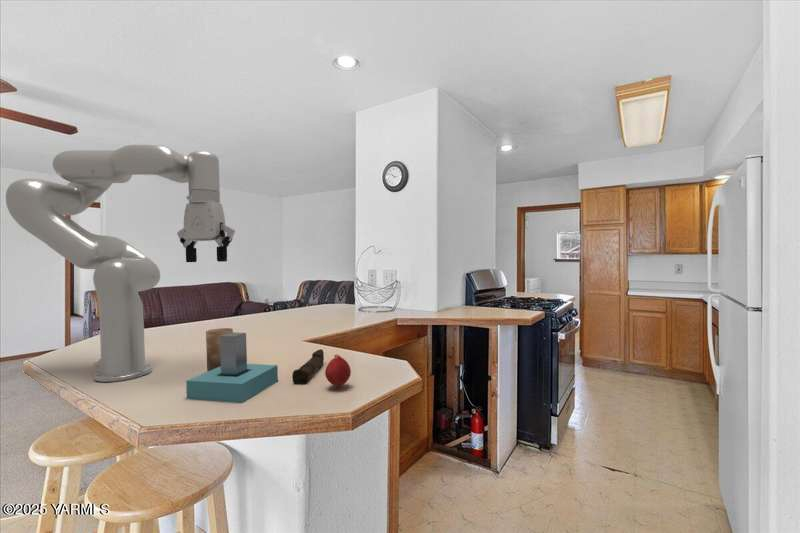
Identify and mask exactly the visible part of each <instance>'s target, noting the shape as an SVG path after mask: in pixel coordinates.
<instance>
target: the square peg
mask: <svg viewBox="0 0 800 533" xmlns="http://www.w3.org/2000/svg"><path fill="white" fill-rule="evenodd" d="M247 349H248V348H247V332H234V331H233V332H231V333H228V334H225V335H221V336H220V353H221V376H232V377H238V376H240V375H242V374H244V373H246V372H247V364H248V359H247V358H248V352H247Z"/></svg>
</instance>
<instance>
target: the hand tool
mask: <svg viewBox="0 0 800 533" xmlns="http://www.w3.org/2000/svg"><path fill="white" fill-rule="evenodd" d="M324 355H325V354H324V350H323V349H322V348H321V349H317V350H316V351H314V352H313V353H312V354H311V357H310V359H308V360H307V361H306V362H305V363H304V364H302V366H300V367H299V368H298V369H294V370H293V371H292V376H291V378H292V380H291V381H292V382H293V384H294V385H306V384H307V383H308V382H309V379H310V378H311V377H312V376H313V374H315V373H316V372H317V370H320V369H322V368H323V366H324V360H325V359H324V358H325V356H324Z"/></svg>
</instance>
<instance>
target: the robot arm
mask: <svg viewBox="0 0 800 533" xmlns="http://www.w3.org/2000/svg"><path fill="white" fill-rule="evenodd" d="M52 168H53V170H54V172H55V173H56V174H57V175H58V176H59V177H60V178H61V179H64V180H65V181H67V182H68V183H67V184H62V183H58V182H53V181H49V180H44V179H39V178H23V179H18V180H15V181H13V182H12V183H10V184H9V186H7V189H6V191H5V205H6V208H7V210H8V212H9V214H10V216H11V217H12V218H13V220H14V221H15V222H16V223H17V224H18V225H19V226H20V227H21V228H22V229H24V230H25V231H26V232H27V233H29V234H31V235H33V237H35V238H37V239H38V240H40V242H42V243H44V244H46V245H47V246H48V247H49V248H50V249H52V250H53V251H54V252H55V253H57V254H58V255H60V256H61V257H62V258H64V259H65V260H67V261H69V263H71V264H73V265H74V266H76V267H78V268H80V269H83V270H94V271H93V276H92V277H93V278H92V281H93V286H94V290H95V293H96V297H97V301H98V313H99V314H98V315H99V335H100V339H99V341H100V358H99V359H98V361H95V362H93V364H92V365H93V367H94V368H98V372H96V373H95V374H94V375H93V378H94V379H93V380H94V381H96V382H101V383H108V382H110V383H111V382H119V381H125V380H131V379H135V378H136V379H137V378H140V377H142V376H146V375H147V374H148V375H149V373H151V372H152V371H153V365H151V364H146V351H145V350H146V348H145V347H146V346H145V323H144V321H145V319H144V307H143V306H144V305H143V301H142V299H141V297H140V295H139V292H143V291H145V292H146V291H149V290H151V289H153V288H154V287H156V286H157V285H158V283H159V282H160V280H161V272H160V269H159V266H158V265H157V264H156V263H155V262H154V261H153V260H152V259H151V258H149V257H147V255H145V254H144V253H142V252H141V251H140V250H138V249H136V248H135V247H134V246H133V245H131V244H129V242H127V241H125V240H124V239H121V238H120V237H119V238H118V237H117V236H110V235H103V234H102V235H101V234H100V235H99V234H95V233H92V232H90V231H89V230H86V229H85V228H84V227H82V226H81V225H80V224H78V223H77V222H76V221H74V220H72V219H71V218H69V217H67V216H76V215H79V214H81V213H83V212H85V211H86V210H87V209H88V208H89V207H90V206H91V205H92V204H94V202H96V201H97V199H99V198H100V197H102V195H103V194H104V193H105V192H107V190H109V188H110V187H111V186H112V185H113V184H125V183H128V182H129V181H130V180H131V179H132V176H133V175H140V176H141V175H151V176H152V175H154V176H159V177H162V178H165V179H167V180H170V181H171V182H176V183H179V184H186V183H187V185H188V195H187V196H186V200H187V201H188V203H186V205H185V210H184V216H183V228H182V229H180V230H179V231H177V232H176V233H177V234H176V235H177V237H178V238H179V242H180V243H181V244H182V246H183V248H185V262H186V263H197V257H198V256H197V254H198V253H197V247H196V245H197V243H198V242H199V241H200V242H202V241H204V242H205V241H209V242H211V241H215V243H216V244H217V245H218V246H216V260H217V262H219V263H220V262H224V263H225V262H228V248H229V246H230V244H231V242H232V241H233V238H234V235H235V233H236V230H235V229H233V228H231V227H230V226H228V225H226V219H225V213H224V208H223V204H222V203H221V191H220V189H221V187H220V163H219V158H218V156H217V155H216V154H215V153H212V152H209V151H204V150H202V151H201V150H200V151H199V150H195V151H191V152H190V153H188V156H187V155H184V154H183V153H182V154H181V153H179V152H178V151H175V150H174V149H172V148H169V147H167V146H164V145H158V144H129V145H125V146H122V147H120V148H117V149H115V150H114V149H113V150H112V149H111V150H108V149H107V150H101V149H100V150H99V149H98V150H92V149H91V150H89V149H88V150H85V149H84V150H80V149H79V150H76V149H75V150H64V151H61V152H59V153H57V154H56V155H55V156H54V158H53V160H52Z"/></svg>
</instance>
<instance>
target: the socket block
mask: <svg viewBox="0 0 800 533" xmlns="http://www.w3.org/2000/svg"><path fill="white" fill-rule="evenodd" d="M278 368H279V367H278V365H277V364H276V365H275V364H257V363H247V372H246V373H244V374H242V375H240V376H238V377H232V376H221V366H220V367H218V368H215V369H213V370H210V371H208V372H207V371H206V372H203V373H201V374H199V375H196V376H194V377H192V378H189V379H187V380H186V382H185V383H186V384H185V385H186V387H185V388H186V399H188V400H204V401H218V402H231V403H244V402H246V401H248V400H249V399H251V398H252V397H254V396H256V395H258V394H259V393H260V392H262V391H264V390H265V389H267V388H269V387H270V386H272V385H274V384H276V383H277V382H278V381H279V377H278V376H279V375H278V374H279V372H278Z"/></svg>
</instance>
